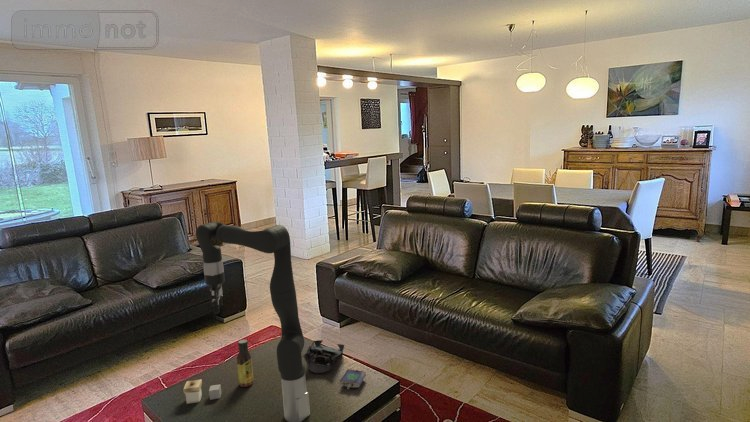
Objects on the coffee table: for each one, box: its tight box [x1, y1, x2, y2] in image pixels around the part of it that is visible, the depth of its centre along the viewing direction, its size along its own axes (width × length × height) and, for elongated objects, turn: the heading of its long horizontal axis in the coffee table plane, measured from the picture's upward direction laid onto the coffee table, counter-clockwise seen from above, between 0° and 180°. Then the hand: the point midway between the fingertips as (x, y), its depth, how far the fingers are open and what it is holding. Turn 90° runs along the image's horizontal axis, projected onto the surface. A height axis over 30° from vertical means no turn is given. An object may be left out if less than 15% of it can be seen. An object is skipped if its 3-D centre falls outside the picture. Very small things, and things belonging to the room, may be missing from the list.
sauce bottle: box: [236, 339, 254, 388], centre depth 186 cm, size 7×6×20 cm
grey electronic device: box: [339, 368, 367, 390], centre depth 183 cm, size 9×3×11 cm
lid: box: [182, 378, 203, 395], centre depth 177 cm, size 6×6×3 cm
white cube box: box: [185, 387, 203, 405], centre depth 177 cm, size 5×5×5 cm
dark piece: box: [301, 339, 345, 374], centre depth 201 cm, size 18×20×9 cm
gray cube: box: [208, 384, 222, 401], centre depth 179 cm, size 4×4×4 cm
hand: (218, 309), depth 174 cm, fingers open, 8 cm apart
